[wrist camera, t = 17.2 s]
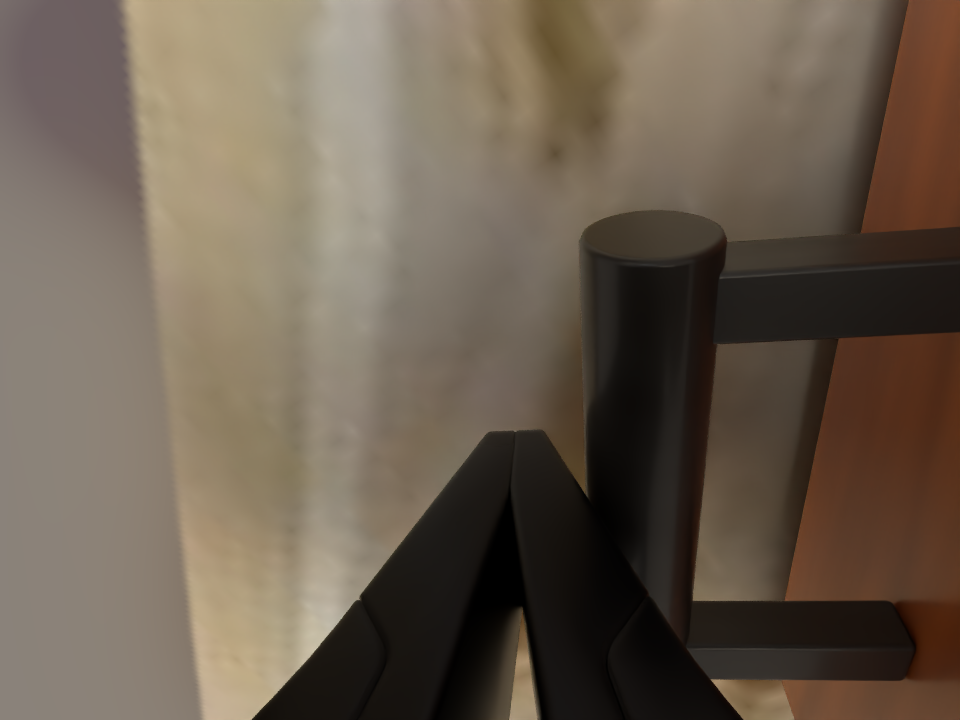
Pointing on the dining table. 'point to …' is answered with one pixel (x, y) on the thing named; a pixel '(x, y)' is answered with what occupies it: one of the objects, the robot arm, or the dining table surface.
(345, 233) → the dining table surface
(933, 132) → the drawer
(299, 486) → the dining table surface
